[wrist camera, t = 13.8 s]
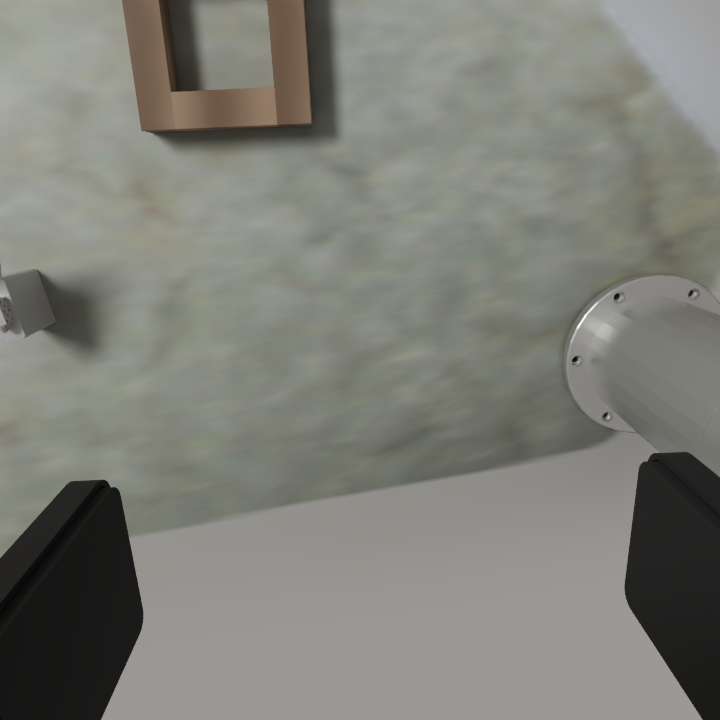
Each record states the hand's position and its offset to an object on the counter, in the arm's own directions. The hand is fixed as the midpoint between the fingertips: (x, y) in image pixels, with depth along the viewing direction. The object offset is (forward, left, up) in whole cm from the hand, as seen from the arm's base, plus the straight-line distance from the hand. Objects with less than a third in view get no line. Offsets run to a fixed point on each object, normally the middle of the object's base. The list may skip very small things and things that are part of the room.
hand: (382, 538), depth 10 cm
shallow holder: (+8, -15, -33) cm, 37 cm away
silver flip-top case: (+24, 0, -34) cm, 41 cm away
